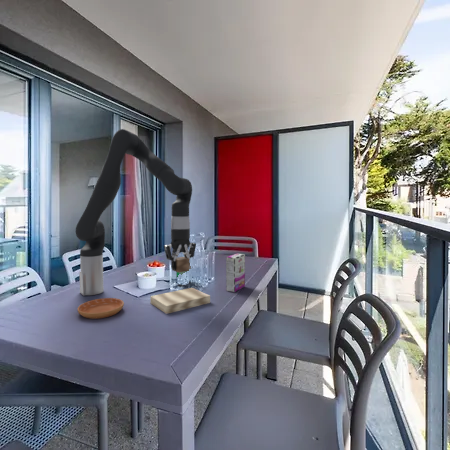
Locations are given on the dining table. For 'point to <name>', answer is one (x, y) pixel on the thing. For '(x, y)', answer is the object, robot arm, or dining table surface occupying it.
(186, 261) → the walnut cube
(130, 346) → the dining table surface
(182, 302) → the wooden block
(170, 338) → the dining table surface
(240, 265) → the candy bar box
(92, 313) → the saucer
